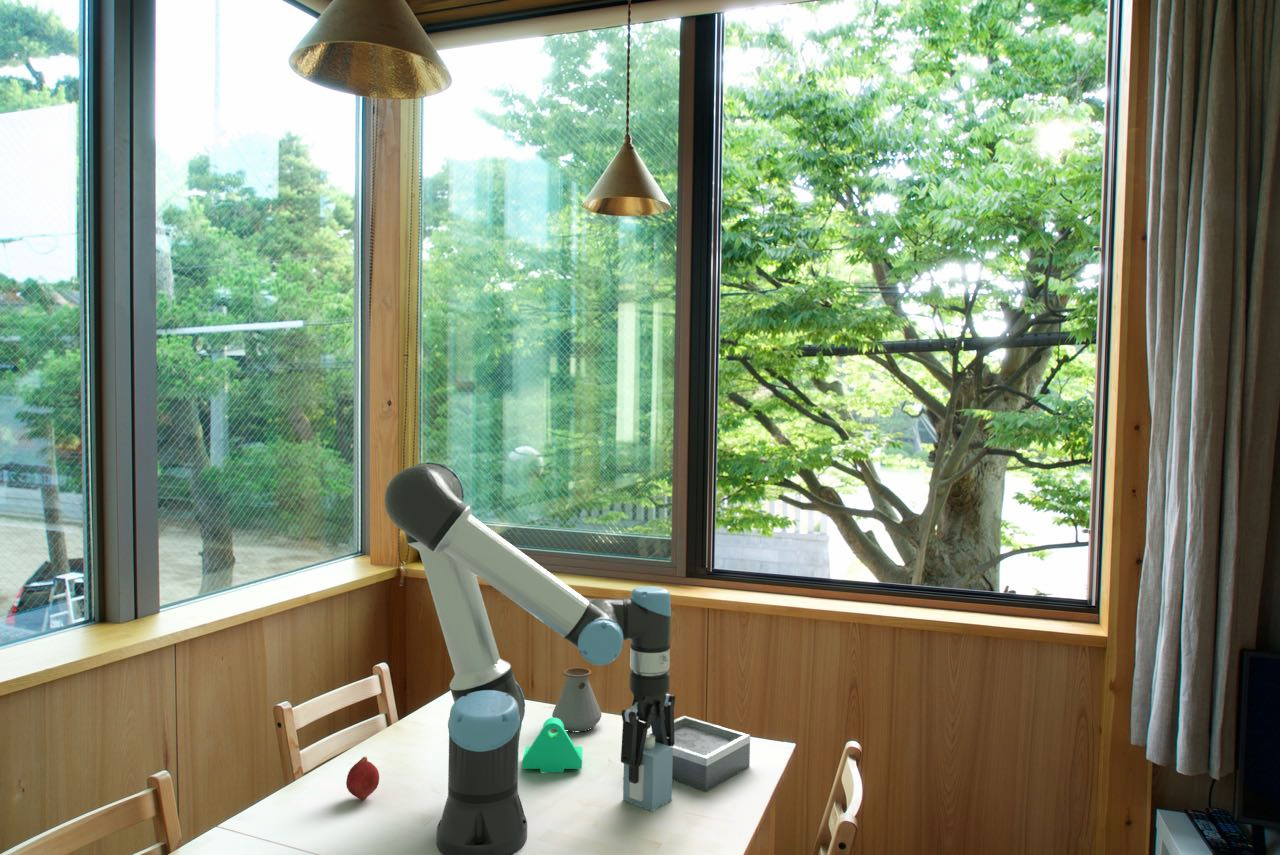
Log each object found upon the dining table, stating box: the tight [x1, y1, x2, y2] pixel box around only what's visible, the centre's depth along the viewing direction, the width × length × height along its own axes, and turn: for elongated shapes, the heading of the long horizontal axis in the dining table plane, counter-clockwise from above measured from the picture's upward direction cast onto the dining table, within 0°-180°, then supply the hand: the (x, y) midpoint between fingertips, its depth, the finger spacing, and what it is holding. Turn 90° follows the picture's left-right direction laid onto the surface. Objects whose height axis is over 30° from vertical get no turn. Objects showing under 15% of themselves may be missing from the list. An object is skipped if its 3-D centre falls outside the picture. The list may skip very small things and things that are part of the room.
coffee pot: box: [551, 667, 602, 733], centre depth 188 cm, size 21×12×15 cm, turn 8°
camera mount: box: [521, 717, 583, 772], centre depth 171 cm, size 12×8×10 cm, turn 93°
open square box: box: [647, 715, 751, 793], centre depth 172 cm, size 16×17×6 cm
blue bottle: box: [622, 734, 673, 812], centre depth 156 cm, size 6×7×12 cm
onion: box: [345, 756, 380, 801], centre depth 154 cm, size 6×6×8 cm
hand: (647, 792), depth 156 cm, fingers closed on blue bottle, 6 cm apart
